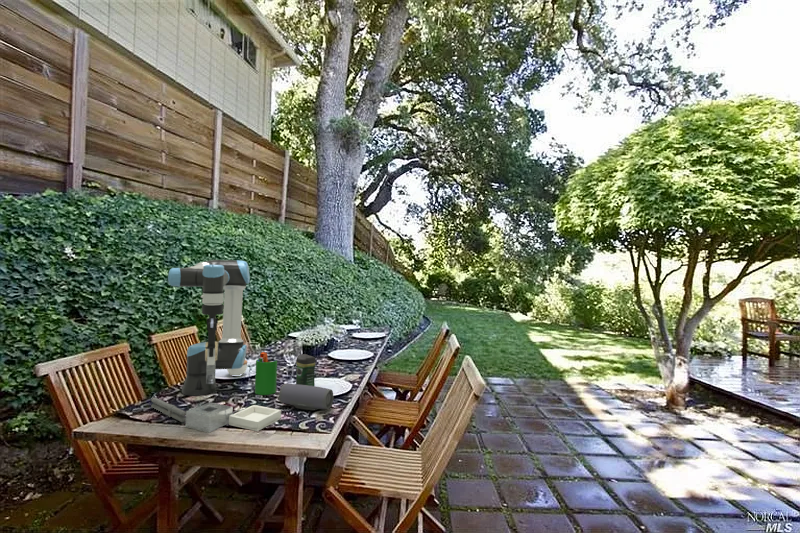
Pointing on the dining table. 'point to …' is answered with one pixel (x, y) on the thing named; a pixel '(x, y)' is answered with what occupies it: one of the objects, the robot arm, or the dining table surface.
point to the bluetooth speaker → (306, 396)
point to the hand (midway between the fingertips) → (211, 363)
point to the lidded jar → (239, 370)
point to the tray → (255, 417)
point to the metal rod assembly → (169, 409)
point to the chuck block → (208, 417)
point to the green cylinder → (265, 375)
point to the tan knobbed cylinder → (211, 366)
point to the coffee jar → (305, 370)
